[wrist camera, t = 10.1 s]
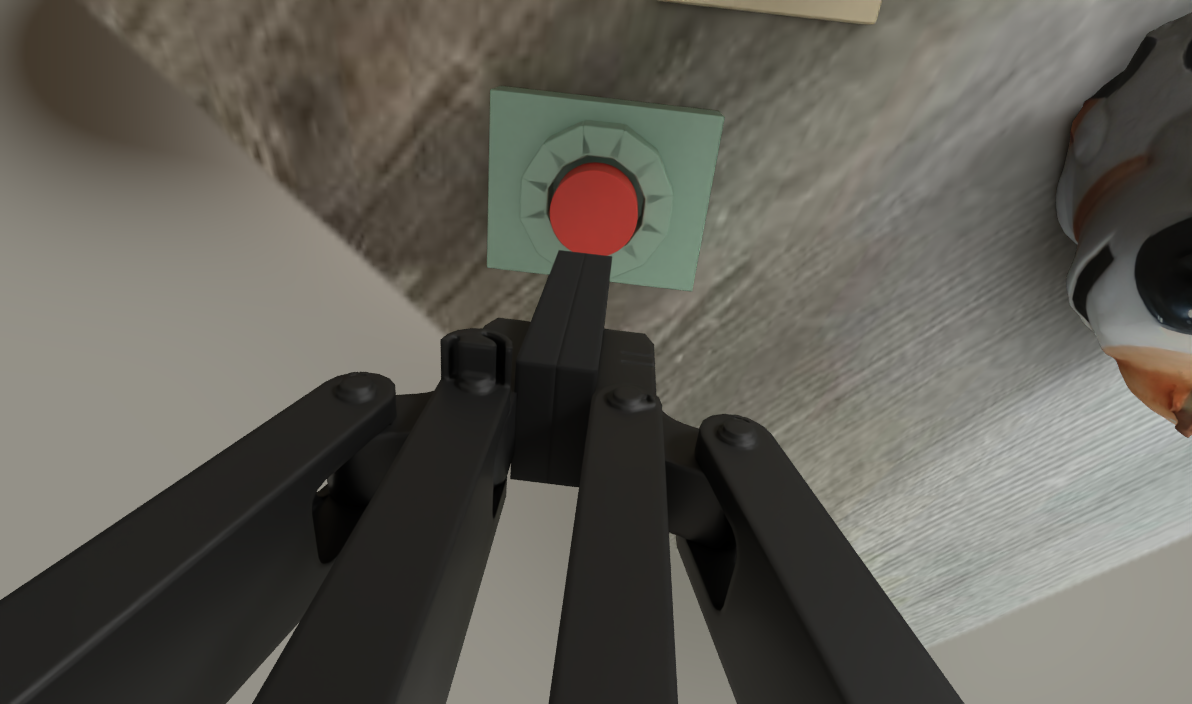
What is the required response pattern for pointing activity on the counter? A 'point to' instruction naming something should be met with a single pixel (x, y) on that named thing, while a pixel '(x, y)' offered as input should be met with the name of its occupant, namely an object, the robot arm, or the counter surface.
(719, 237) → the counter surface
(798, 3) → the beige lever stand
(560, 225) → the red button
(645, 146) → the block
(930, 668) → the robot arm
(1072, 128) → the lucky cat figurine
